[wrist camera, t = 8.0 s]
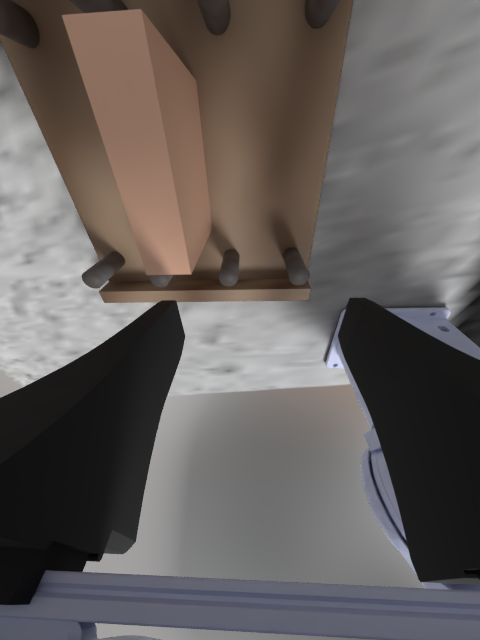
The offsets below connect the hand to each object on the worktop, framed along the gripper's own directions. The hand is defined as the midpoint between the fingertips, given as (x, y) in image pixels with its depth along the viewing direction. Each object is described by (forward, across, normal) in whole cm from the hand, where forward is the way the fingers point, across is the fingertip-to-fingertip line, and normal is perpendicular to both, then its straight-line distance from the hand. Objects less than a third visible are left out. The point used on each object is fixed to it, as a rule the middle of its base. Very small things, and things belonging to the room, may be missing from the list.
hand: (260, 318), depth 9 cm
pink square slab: (+8, +4, -5) cm, 10 cm away
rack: (+9, +4, -5) cm, 11 cm away
